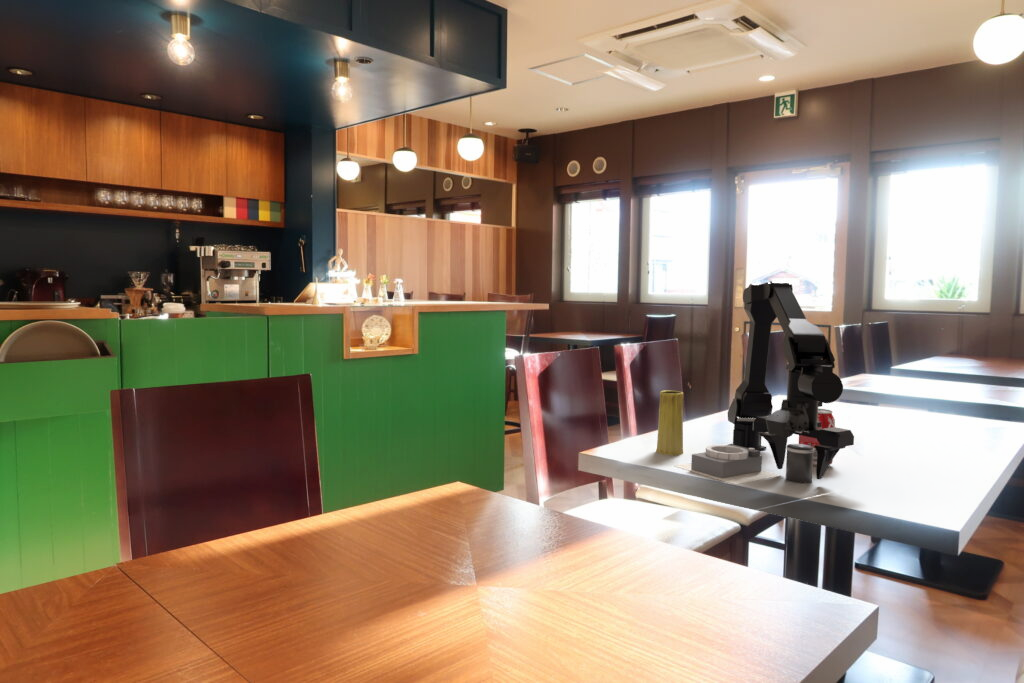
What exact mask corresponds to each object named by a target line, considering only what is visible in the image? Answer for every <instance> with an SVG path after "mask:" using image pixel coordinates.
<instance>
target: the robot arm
mask: <svg viewBox="0 0 1024 683" xmlns="http://www.w3.org/2000/svg"><path fill="white" fill-rule="evenodd" d="M793 288H794V287H793V284H792V283H791V282H788V281H781V280H780V281H777V280H773V281H772V280H770V281H769V282H768V281H767V282H764V283H750V284H749V285H748V287H745V289H743V293H742V302H743V303H744V304H743V310H744V312H745V313H746V315H747V317H748V319H749V328H748V330H749V331H748V337H747V338H748V339H747V346H746V348H747V349H746V357H745V365H744V366H745V368H744V378H743V380H742V381H741V383H740V384H739V385H738V386H737V388H736V389H735V392H734V393H735V394H734V398H733V399H732V401H731V403H730V406H729V408H728V411H727V421H728V422H730V423H731V424H733V425H734V426H733V432H732V433H733V434H732V436H733V437H732V443H729V444H727V445H731V444H733V445H737V446H741V447H746V448H754V449H755V450H758V451H761V450H766V449H767V446H764V445H762V438H763V439H765V440H766V442H767V443H768V445H769V448H770V449H771V453H772V455H773V459H774V461H775V465H776V468H777V469H778V470H782V469H783V467H784V464H785V458H786V453H787V445H788V438H790V437H792V436H793V435H798V436H799V435H802V436H807V437H812V438H817V441H818V442H819V443H820V444H819V445H814V447H815V449H816V451H817V466H816V472H815V473H816V479H817V480H821V479H823V477H824V475H825V473H826V472H827V470H828V468H829V467H830V465H831V464H830V463H831V461H832V459H833V460H834V458H835V457H836V455H837V454H838V452H839V451H840V450H841V449H845V448H846V447H850V446H854V444H855V435H854V434H853V432H852V431H851V429H846V428H841V427H836V426H835V427H831V428H824V429H817V428H818V427H821V422H818V421H817V420H818V409H819V407H823V404H830V403H831V404H832V403H833V402H836V401H837V400H838V399H839V398H840V397H841V396H842V394H843V391H844V385H843V381H842V380H841V378H840V376H838V375H837V374H836V373H834V369H835V367H836V366H835V361H836V359H835V356H834V354H833V351H832V350H831V348H830V344H829V341H828V339H827V337H826V336H825V334H824V332H822V330H821V329H820V327H819V326H817V325H815V324H813V323H811V322H809V321H808V319H807V317H806V315H805V313H804V312H803V310H802V307H801V306H800V303H799V302H798V300H797V298H796V295H795V293H794V292H793ZM776 319H777V321H778V322H779V325H780V327H781V329H782V332H783V335H784V336H783V338H782V341H781V347H782V353H783V354H784V356H785V359H786V361H787V365H786V366H785V369H786V370H787V385H786V386H787V388H786V389H787V390H786V392H787V393H786V399H782V402H781V407H780V409H777V410H775V411H774V412H772V411H773V404H772V401H773V400H772V399H773V396H772V393H771V392H770V390H768V388H767V385H766V379H767V378H766V377H767V370H768V368H767V367H768V360H769V359H768V358H769V353H770V352H769V350H770V340H771V334H772V324H773V323H774V322H775V320H776ZM804 431H807V432H804ZM832 462H833V461H832Z"/></svg>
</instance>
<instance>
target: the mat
mask: <svg viewBox="0 0 1024 683" xmlns="http://www.w3.org/2000/svg"><path fill="white" fill-rule="evenodd" d="M691 463H692V462H690V463H684V464H677V465H674V468H675V467H676V468H679V469H681V470H685V471H689V472H692V473H696V474H699V475H702V476H705V477H709V478H712V479H715V480H719V481H722V482H726V483H729V484H733V485H739V484H744V483H751V482H753V481H755V482H756V481H759V480H764V479H765V480H766V479H769V478H774V477H779V476H782V474H778V473H775V472H770V471H767V470H763V469H761V471H760V472H755V473H750V474H744V475H739V476H733V477H728V478H723V479H722V478H718V477H715V476H711V475H708V474H705V473H701V472H698V471H694V470H691Z"/></svg>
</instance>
